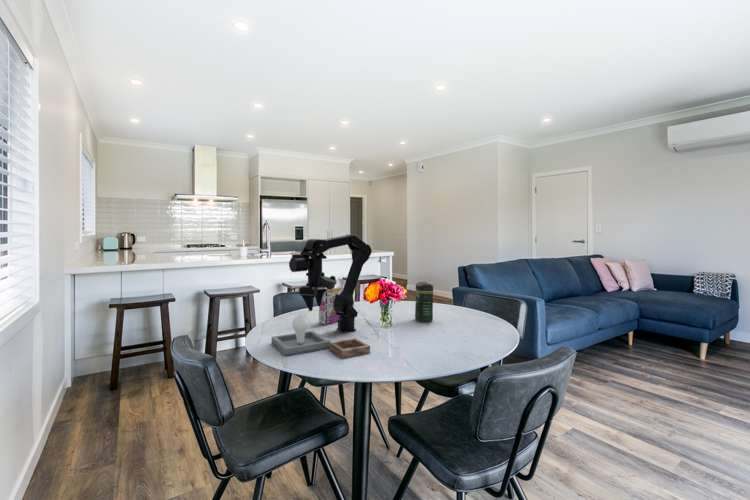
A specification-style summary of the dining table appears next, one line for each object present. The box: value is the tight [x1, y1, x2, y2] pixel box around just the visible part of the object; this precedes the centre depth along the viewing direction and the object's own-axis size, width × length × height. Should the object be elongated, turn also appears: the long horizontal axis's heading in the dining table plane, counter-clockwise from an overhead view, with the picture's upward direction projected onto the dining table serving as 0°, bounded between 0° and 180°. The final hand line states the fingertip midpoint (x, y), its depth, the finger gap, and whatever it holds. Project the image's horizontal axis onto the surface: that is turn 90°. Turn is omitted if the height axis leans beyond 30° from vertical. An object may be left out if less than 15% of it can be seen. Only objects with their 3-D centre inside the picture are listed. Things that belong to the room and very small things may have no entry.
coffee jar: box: [414, 281, 434, 323], centre depth 184 cm, size 10×8×19 cm
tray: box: [271, 330, 331, 357], centre depth 144 cm, size 17×17×2 cm
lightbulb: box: [291, 314, 309, 344], centre depth 144 cm, size 6×6×11 cm
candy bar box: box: [318, 286, 343, 326], centre depth 179 cm, size 11×5×16 cm, turn 144°
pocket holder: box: [328, 337, 371, 359], centre depth 138 cm, size 11×11×2 cm
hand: (315, 308), depth 154 cm, fingers open, 9 cm apart
